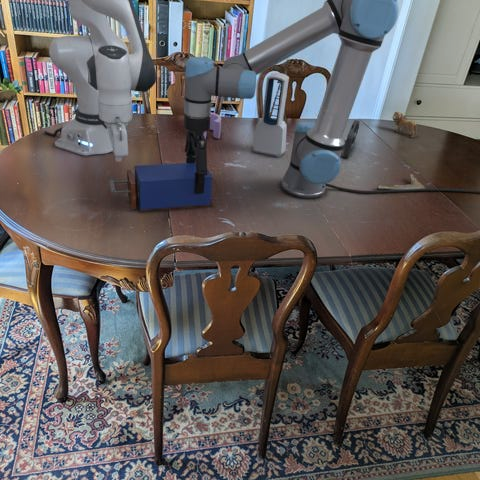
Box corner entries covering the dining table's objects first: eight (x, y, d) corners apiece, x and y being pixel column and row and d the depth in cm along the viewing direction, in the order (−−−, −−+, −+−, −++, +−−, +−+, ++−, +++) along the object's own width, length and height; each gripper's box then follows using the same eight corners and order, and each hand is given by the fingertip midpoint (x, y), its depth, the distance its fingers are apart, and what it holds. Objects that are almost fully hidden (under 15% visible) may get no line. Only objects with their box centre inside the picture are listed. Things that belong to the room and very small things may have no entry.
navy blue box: (140, 212, 138) (139, 181, 133) (135, 195, 147) (134, 165, 141) (210, 206, 145) (212, 176, 140) (201, 190, 154) (203, 162, 148)
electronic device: (285, 152, 188) (297, 76, 172) (280, 158, 182) (292, 80, 166) (256, 146, 191) (264, 70, 175) (250, 152, 185) (258, 74, 168)
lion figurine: (387, 130, 224) (392, 111, 219) (391, 127, 228) (397, 109, 223) (416, 139, 217) (422, 120, 212) (420, 136, 220) (426, 118, 215)
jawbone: (429, 189, 172) (431, 184, 171) (394, 201, 161) (396, 196, 160) (410, 177, 177) (412, 172, 176) (375, 189, 167) (376, 184, 165)
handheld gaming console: (349, 160, 187) (354, 136, 182) (342, 158, 188) (347, 134, 183) (355, 142, 206) (361, 119, 201) (349, 140, 207) (354, 118, 201)
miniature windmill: (283, 131, 209) (293, 61, 193) (265, 128, 210) (273, 58, 194) (285, 124, 217) (296, 57, 200) (268, 122, 218) (276, 54, 201)
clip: (182, 123, 206) (183, 107, 202) (209, 122, 210) (210, 106, 207) (197, 140, 191) (197, 123, 187) (225, 138, 195) (226, 122, 191)
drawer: (112, 210, 136) (111, 185, 131) (109, 195, 143) (107, 170, 139) (198, 203, 144) (199, 179, 139) (191, 189, 151) (192, 166, 147)
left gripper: (132, 124, 118) (134, 174, 126) (123, 100, 134) (125, 145, 142) (107, 125, 116) (110, 175, 124) (100, 100, 132) (103, 146, 140)
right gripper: (221, 129, 125) (216, 201, 137) (200, 102, 144) (197, 168, 155) (194, 129, 123) (191, 203, 135) (175, 102, 141) (174, 169, 153)
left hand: (118, 159), depth 133 cm, fingers closed
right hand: (194, 184), depth 145 cm, fingers closed on navy blue box, 11 cm apart
